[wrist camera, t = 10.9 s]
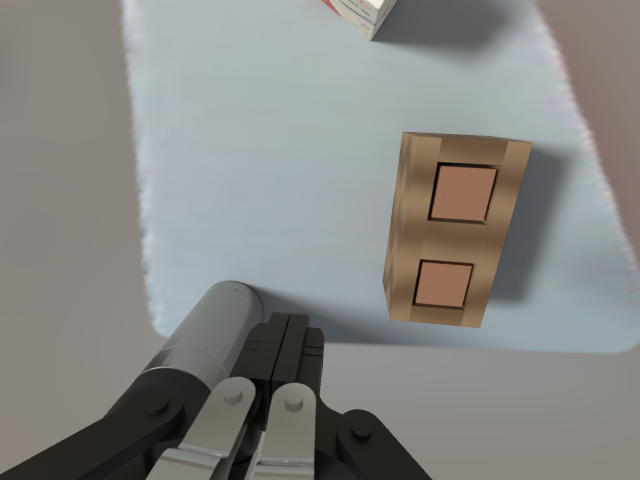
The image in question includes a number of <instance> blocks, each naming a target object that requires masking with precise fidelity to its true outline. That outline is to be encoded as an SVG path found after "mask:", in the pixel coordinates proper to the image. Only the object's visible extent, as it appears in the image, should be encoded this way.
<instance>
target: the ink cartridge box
mask: <svg viewBox="0 0 640 480" xmlns="http://www.w3.org/2000/svg"><path fill="white" fill-rule="evenodd" d="M322 1H323V2H324V3H326V4H327V5H328V6H329V7H330V8H332V9H333V10H334V11H335V12H336V13H337V14H338V15H340V16H341V17H342V18H343V19H344V20H346V21H347V22H348V23H349V24H350V25H352V26H353V27H354V28H355V29H356V30H358V31H359V32H360V33H361V34H362V35H363V36H365V37H366V38H367V39H368V40H370V41H371V40H372V39H373V37H374V36H375V34H376V33H377V31H378V29H379V28H380V26H381V25H382V23H383V21H384V20H385V18H386V17H387V15H388V14H389V12H390V11H391V9H392V8H393V6H394V5H395V3H396V2H397V0H322Z"/></svg>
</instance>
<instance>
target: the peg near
mask: <svg viewBox="0 0 640 480" xmlns="http://www.w3.org/2000/svg"><path fill="white" fill-rule="evenodd" d="M495 173H496V169H494V168H491V167H489V166H486V165H483V164H470V163H452V162H437V168H436V173H435V179H434V184H433V190H432V195H431V201H430V207H429V212H428V213H429V215H430V216H431V217H435V218H449V219H464V220H479V221H484V217H485V213H486V209H487V205H488V201H489V197H490V193H491V189H492V185H493V181H494V177H495Z"/></svg>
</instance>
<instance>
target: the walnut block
mask: <svg viewBox="0 0 640 480" xmlns="http://www.w3.org/2000/svg"><path fill="white" fill-rule="evenodd" d="M532 144H533V143H532V142H526V141H519V140H512V139H506V138H499V137H492V136H476V135H456V134H436V133H416V132H403V135H402V142H401V150H400V157H399V165H398V172H397V179H396V187H395V194H394V202H393V209H392V216H391V224H390V231H389V239H388V246H387V253H386V261H385V268H384V276H383V285H384V291H385V296H386V301H387V306H388V311H389V316H390V320H397V321H408V322H419V323H430V324H441V325H452V326H463V327H474V328H480V326H481V323H482V319H483V316H484V312H485V309H486V305H487V302H488V298H489V295H490V291H491V288H492V284H493V281H494V277H495V274H496V270H497V267H498V263H499V260H500V256H501V253H502V249H503V246H504V242H505V239H506V235H507V232H508V228H509V225H510V221H511V218H512V214H513V211H514V207H515V204H516V200H517V197H518V193H519V190H520V186H521V183H522V179H523V176H524V172H525V169H526V165H527V162H528V158H529V155H530V151H531V148H532ZM437 162H452V163H470V164H483V165H486V166H489V167H491V168H494V169H496V173H495V177H494V181H493V185H492V189H491V193H490V197H489V201H488V205H487V209H486V213H485V217H484V221H479V220H464V219H449V218H435V217H431V216H430V215H429V213H428V212H429V207H430V201H431V195H432V190H433V184H434V179H435V173H436V168H437ZM420 259H426V260H439V261H452V262H465V263H470V265H471V266H472V268H471V272H470V276H469V280H468V284H467V288H466V292H465V296H464V300H463V304H462V307H458V306H446V305H434V304H423V303H415V300H414V297H413V295H414V290H415V284H416V279H417V273H418V268H419V262H420Z"/></svg>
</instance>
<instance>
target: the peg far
mask: <svg viewBox="0 0 640 480" xmlns="http://www.w3.org/2000/svg"><path fill="white" fill-rule="evenodd" d="M471 268H472V266H471V265H470V263H465V262H452V261H439V260H426V259H420V262H419V268H418V273H417V279H416V284H415V290H414V295H413V297H414V300H415V303H423V304H434V305H446V306H458V307H462V304H463V300H464V296H465V292H466V288H467V284H468V280H469V276H470V272H471Z"/></svg>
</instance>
